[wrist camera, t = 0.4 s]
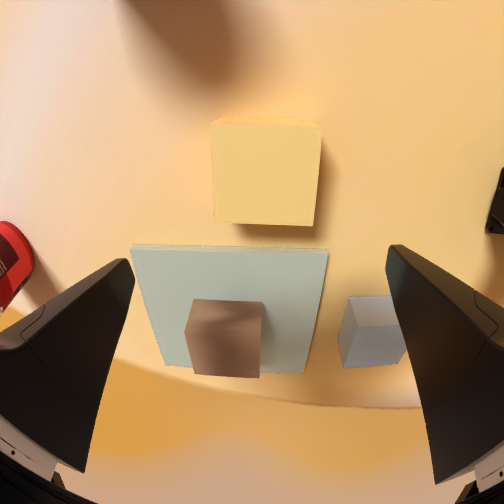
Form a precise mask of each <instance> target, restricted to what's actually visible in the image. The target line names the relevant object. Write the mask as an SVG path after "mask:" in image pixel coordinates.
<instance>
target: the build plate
mask: <svg viewBox="0 0 504 504" xmlns="http://www.w3.org/2000/svg"><path fill="white" fill-rule="evenodd" d="M130 253H131V257H132V261H133V265H134V268H135V272H136V276H137V279H138V283H139V287H140V290H141V293H142V297H143V300H144V303H145V307H146V310H147V313H148V316H149V319H150V322H151V326H152V329H153V332H154V334H155V337H156V340H157V343H158V346H159V349H160V352H161V354H162V357H163V360H164V363H165V365H170V366H179V367H188V368H193V366H192V362H191V358H190V354H189V350H188V346H187V342H186V338H185V334H184V331H185V327H186V324H187V320H188V317H189V313H190V310H191V306H192V303H193V299H206V300H228V301H254V302H262V320H261V348H260V372H269V373H304V370H305V365H306V361H307V357H308V353H309V349H310V344H311V340H312V335H313V331H314V326H315V321H316V317H317V312H318V307H319V302H320V297H321V292H322V286H323V281H324V276H325V270H326V264H327V258H328V253H327V249H302V248H265V247H227V246H185V245H141V244H133V245H132V247H131V248H130Z"/></svg>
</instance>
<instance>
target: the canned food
mask: <svg viewBox="0 0 504 504" xmlns="http://www.w3.org/2000/svg"><path fill="white" fill-rule="evenodd" d="M33 269H34V259H33V254H32V251H31V248H30V246H29V244H28V242H27V240H26V239H25V237H24V236H23V234H22V233H21V232H20V231H19V230H18V228H16V227H15V226H14V225H13V224H11V223H9V222H6V221H1V222H0V316H1V314H2V313H3V312H4V310H5V309H6V308H7V306H8V305H9V304H10V302H11V301H12V300H13V298H14V297H15V296H16V295H17V293H18V292H19V291H20V290H21V288H22V287H23V286H24V285H25V283H26V282H27V281H28V280H29V279H30V277H31V274H32V272H33Z"/></svg>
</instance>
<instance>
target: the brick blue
mask: <svg viewBox="0 0 504 504" xmlns="http://www.w3.org/2000/svg"><path fill="white" fill-rule="evenodd" d="M338 344H339V349H340V354H341V359H342V365H343V368H358V367H370V366H381V365H390V364H398V363H399V361H400V359H401V357H402V356H403V354H404V352H405V350H406V344H405V341H404V338H403V335H402V331H401V328H400V325H399V322H398V319H397V316H396V313H395V309H394V305H393V301H392V296H353V297H349V300H348V304H347V308H346V312H345V315H344V319H343V322H342V326H341V329H340V333H339V336H338Z"/></svg>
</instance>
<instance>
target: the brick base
mask: <svg viewBox="0 0 504 504" xmlns="http://www.w3.org/2000/svg"><path fill="white" fill-rule="evenodd" d="M261 320H262V302H254V301H228V300H206V299H193V303H192V306H191V310H190V313H189V317H188V320H187V324H186V327H185V331H184V334H185V338H186V342H187V346H188V350H189V354H190V358H191V362H192V366H193V370H194V373H195V374H201V375H212V376H226V377H243V378H259V375H260V348H261Z"/></svg>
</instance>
